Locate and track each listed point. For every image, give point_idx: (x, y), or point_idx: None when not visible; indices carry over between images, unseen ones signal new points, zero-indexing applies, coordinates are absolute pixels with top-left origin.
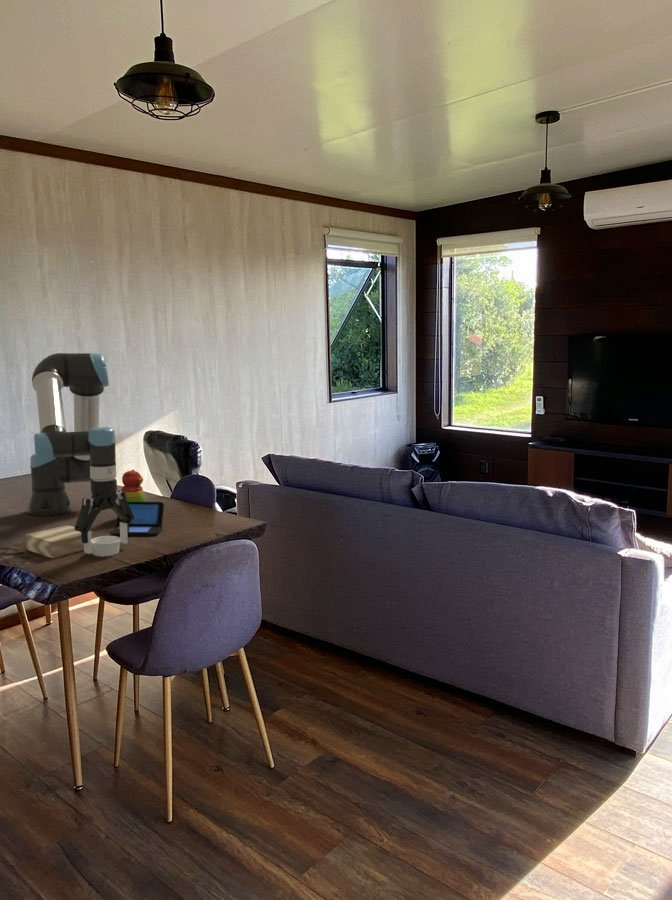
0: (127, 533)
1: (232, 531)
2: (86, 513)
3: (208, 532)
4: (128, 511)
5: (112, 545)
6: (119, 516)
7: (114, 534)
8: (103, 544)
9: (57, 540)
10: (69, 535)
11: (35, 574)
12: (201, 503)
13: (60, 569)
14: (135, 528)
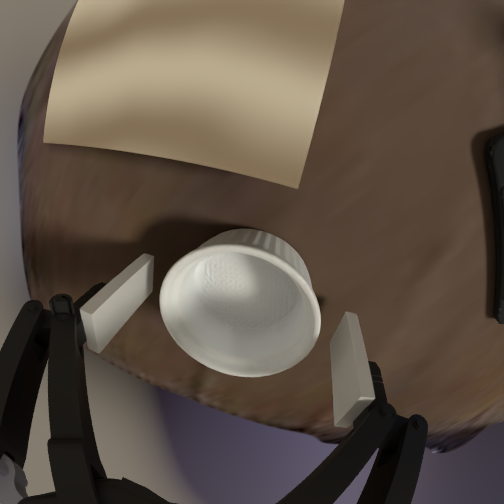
0: (501, 226)
1: (492, 417)
2: (20, 420)
3: (498, 395)
4: (366, 487)
5: (218, 359)
6: (340, 447)
7: (489, 164)
8: (180, 344)
9: (63, 137)
10: (149, 101)
11: (21, 221)
12: None
13: (59, 253)
14: None
